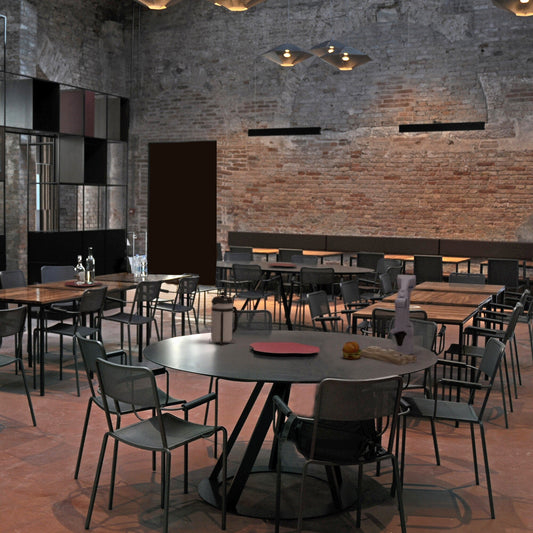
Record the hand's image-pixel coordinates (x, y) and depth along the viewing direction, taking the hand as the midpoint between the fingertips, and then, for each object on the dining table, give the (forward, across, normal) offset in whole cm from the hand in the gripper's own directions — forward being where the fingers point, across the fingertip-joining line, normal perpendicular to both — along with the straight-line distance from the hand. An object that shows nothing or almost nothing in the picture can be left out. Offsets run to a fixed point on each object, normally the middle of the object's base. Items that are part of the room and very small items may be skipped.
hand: (399, 345), depth 391 cm
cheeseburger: (+9, -15, +20) cm, 26 cm away
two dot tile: (+6, 0, +8) cm, 10 cm away
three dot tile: (+7, 0, -1) cm, 7 cm away
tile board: (+8, 0, +8) cm, 12 cm away
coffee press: (+9, -46, +93) cm, 104 cm away
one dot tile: (+6, 0, +17) cm, 18 cm away
